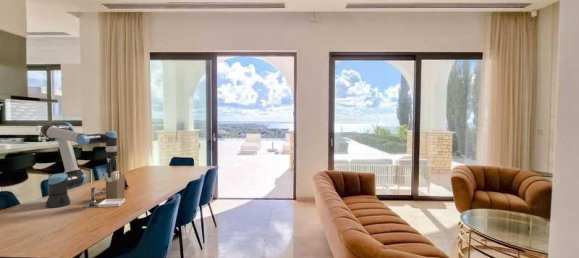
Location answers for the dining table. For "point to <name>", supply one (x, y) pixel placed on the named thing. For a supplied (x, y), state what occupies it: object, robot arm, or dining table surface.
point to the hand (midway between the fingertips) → (111, 180)
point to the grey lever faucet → (92, 200)
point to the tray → (111, 202)
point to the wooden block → (116, 188)
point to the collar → (114, 175)
